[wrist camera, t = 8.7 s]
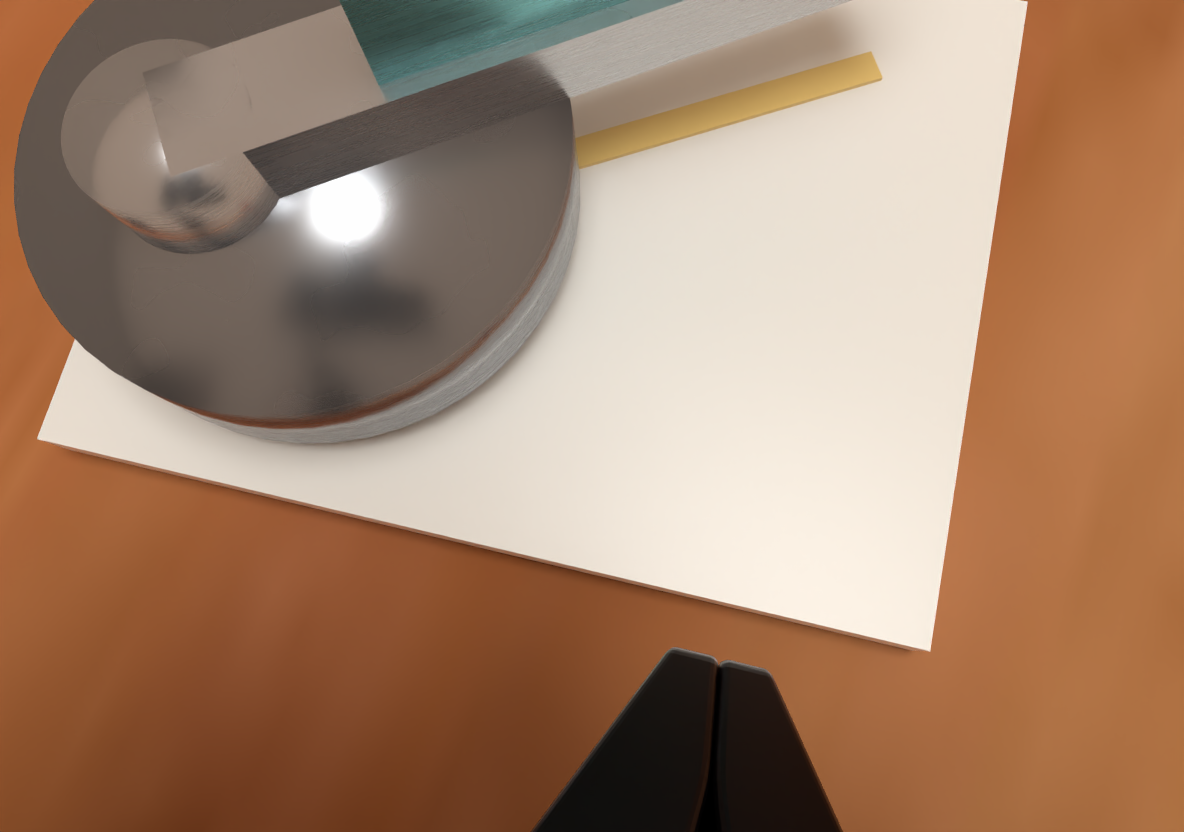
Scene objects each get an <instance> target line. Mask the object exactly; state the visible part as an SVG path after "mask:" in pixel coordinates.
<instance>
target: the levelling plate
mask: <svg viewBox="0 0 1184 832" xmlns="http://www.w3.org/2000/svg"><path fill="white" fill-rule="evenodd" d="M1026 9H1027V1H1021V0H852V1H849V2H846V3H843V4H840V5H837V6H834V7H831V8H829V9H826V10H823V11H820V12H817V13H814V14H811V15H808V16H805V17H803V18H800V19H797V20H794V21H791V22H788V23H785V24H782V25H779V26H777V27H774V28H771V29H768V30H765V31H762V32H759V33H756V34H753V35H751V36H748V37H745V38H742V39H739V40H736V41H733V42H730V43H727V44H724V45H722V46H719V47H716V48H713V49H710V50H707V51H704V52H701V53H698V54H696V55H693V56H690V57H687V58H684V59H681V60H678V61H675V62H672V63H670V64H667V65H664V66H661V67H658V68H655V69H652V70H649V71H646V72H644V73H641V74H638V75H635V76H632V77H629V78H626V79H623V80H620V81H618V82H615V83H612V84H609V85H606V86H603V87H600V88H597V89H594V90H591V91H589V92H586V93H583V94H580V95H577V96H574V97H571V98H570V102H571V108H572V115H573V123H574V131H575V139H576V147H577V155H578V164H579V172H580V212H579V220H578V228H577V235H576V239H575V243H574V247H573V250H572V254H571V258H570V261H569V265H568V268H567V270H566V272H565V275H564V277H563V280H562V282H561V284H560V287H559V289H558V291H557V294H556V296H555V298H554V299H553V301H552V303H551V304H550V306H549V308H548V309H547V311H546V313H545V315H544V316H543V318H542V320H541V321H540V323H539V325H538V326H537V327H536V328H535V330H534V331H533V332H532V334H531V335H530V336H529V337H528V339H527V340H526V341H525V342H524V344H523V345H522V346H521V348H520V349H519V350H518V351H517V352H516V353H515V354H514V355H513V356H512V357H511V358H510V359H509V360H508V361H507V362H506V363H505V364H504V365H503V366H502V367H501V368H500V369H499V370H498V371H497V372H496V373H495V374H494V375H493V376H491V377H490V378H489V379H488V380H486V381H485V382H484V383H482V384H481V385H480V386H478V387H477V388H476V389H474V390H473V391H472V392H471V393H469V394H468V395H467V396H465V397H463V398H462V399H460V400H458V401H457V402H455V403H453V404H451V405H450V406H448V407H446V408H445V409H443V410H441V411H440V412H438V413H436V414H434V415H432V416H429V417H427V418H425V419H422V420H420V421H418V422H415V423H413V424H411V425H408V426H406V427H404V428H400V429H397V430H393V431H390V432H386V433H383V434H379V435H376V436H372V437H368V438H362V439H356V440H349V441H343V442H336V443H304V444H300V443H291V442H281V441H272V440H265V439H261V438H257V437H253V436H249V435H244V434H240V433H236V432H233V431H231V430H228V429H226V428H223V427H221V426H218V425H216V424H213V423H211V422H208V421H205V420H203V419H201V418H199V417H197V416H195V415H193V414H192V413H190V412H188V411H186V410H184V409H182V408H180V407H178V406H176V405H174V404H172V403H170V402H168V401H166V400H164V399H162V398H160V397H158V396H156V395H154V394H152V393H150V392H148V391H146V390H144V389H143V388H141V387H139V386H137V385H136V384H134V383H132V382H130V381H129V380H127V379H125V378H123V377H122V376H120V375H118V374H116V373H115V372H113V371H112V370H110V369H109V368H108V367H106V366H105V365H104V364H103V363H101V362H100V361H99V360H98V359H96V358H95V357H94V356H93V355H91V354H90V353H89V352H88V351H86V350H85V349H84V348H83V347H82V346H81V345H80V344H79V343H78V341H77V340H76V339H75V341H74V343H73V346H72V349H71V351H70V354H69V357H68V359H67V362H66V364H65V367H64V370H63V372H62V375H61V378H60V380H59V383H58V385H57V388H56V391H55V393H54V396H53V398H52V401H51V404H50V406H49V409H48V412H47V414H46V417H45V419H44V422H43V425H42V427H41V430H40V433H39V435H38V438H37V439H39V440H42V441H45V442H48V443H51V444H54V445H56V446H59V447H62V448H65V449H68V450H72V451H76V452H80V453H84V454H89V455H93V456H97V457H101V458H105V459H110V460H114V461H118V462H122V463H126V464H131V465H135V466H139V467H143V468H147V469H152V470H156V471H160V472H164V473H168V474H173V475H177V476H181V477H185V478H189V479H194V480H198V481H202V482H206V483H210V484H215V485H219V486H223V487H227V488H231V489H236V490H240V491H244V492H248V493H252V494H257V495H261V496H265V497H269V498H273V499H278V500H282V501H286V502H290V503H294V504H299V505H303V506H307V507H311V508H315V509H320V510H324V511H328V512H332V513H336V514H341V515H345V516H349V517H353V518H357V519H362V520H366V521H370V522H374V523H378V524H383V525H387V526H391V527H395V528H399V529H404V530H408V531H412V532H416V533H420V534H425V535H429V536H433V537H437V538H441V539H446V540H450V541H454V542H458V543H462V544H467V545H471V546H475V547H479V548H483V549H488V550H492V551H496V552H500V553H504V554H509V555H513V556H517V557H521V558H525V559H530V560H534V561H538V562H542V563H546V564H551V565H555V566H559V567H563V568H567V569H572V570H576V571H580V572H584V573H588V574H593V575H597V576H601V577H605V578H609V579H614V580H618V581H622V582H626V583H630V584H635V585H639V586H643V587H647V588H651V589H656V590H660V591H664V592H668V593H672V594H677V595H681V596H685V597H689V598H693V599H698V600H702V601H706V602H710V603H714V604H719V605H723V606H727V607H731V608H735V609H740V610H744V611H748V612H752V613H756V614H761V615H765V616H769V617H773V618H777V619H782V620H786V621H790V622H794V623H798V624H803V625H807V626H811V627H815V628H819V629H824V630H828V631H832V632H836V633H840V634H845V635H849V636H853V637H857V638H861V639H866V640H870V641H874V642H878V643H882V644H887V645H891V646H895V647H899V648H903V649H908V650H912V651H930V649H931V642H932V635H933V629H934V622H935V615H936V609H937V602H938V595H939V589H940V582H941V575H942V569H943V562H944V555H945V549H946V542H947V535H948V529H949V522H950V515H951V509H952V502H953V495H954V489H955V482H956V475H957V469H958V462H959V455H960V449H961V442H962V435H963V429H964V422H965V415H966V409H967V402H968V395H969V389H970V382H971V375H972V369H973V362H974V355H975V349H976V342H977V336H978V329H979V322H980V316H981V309H982V302H983V296H984V289H985V282H986V276H987V269H988V262H989V256H990V249H991V242H992V236H993V229H994V222H995V216H996V209H997V202H998V196H999V189H1000V182H1001V176H1002V169H1003V162H1004V156H1005V149H1006V142H1007V136H1008V129H1009V122H1010V116H1011V109H1012V102H1013V96H1014V89H1015V82H1016V76H1017V69H1018V62H1019V56H1020V49H1021V42H1022V36H1023V29H1024V22H1025V16H1026Z"/></svg>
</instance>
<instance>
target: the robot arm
mask: <svg viewBox="0 0 1184 832" xmlns="http://www.w3.org/2000/svg"><path fill="white" fill-rule="evenodd" d="M531 832H843V831H842V829H841V826H840V824H839V822H838V820H837V818H836V815H835V813H834V811H833V809H832V806H831V804H830V802H829V800H828V798H827V795H826V793H825V791H824V789H823V787H822V784H821V782H820V780H819V778H818V776H817V773H816V771H815V769H814V767H813V764H812V762H811V760H810V758H809V756H808V753H807V751H806V749H805V747H804V745H803V742H802V740H801V738H800V736H799V733H798V731H797V729H796V727H795V725H794V722H793V720H792V718H791V716H790V714H789V711H788V709H787V707H786V705H785V703H784V700H783V698H782V696H781V694H780V691H779V689H778V687H777V685H776V683H775V681H774V678H773V677H772V675H771V674H770V673H769V672H768V671H767V670H766V669H763V668H760V667H755V666H751V665H747V664H743V663H739V662H735V661H731V660H725V661H722V662H721V663H720V664H719V665H718V662H717V660H716V659H715V658H714V657H713V656H711V655H707V654H702V653H698V652H694V651H690V650H686V649H682V648H677V647H674V648H671V649H669V650H668V651H667V652H666V653H665V654H664V656H663V657H662V658H661V660H660V661H659V662H658V664H657V665H656V666H655V668H654V669H653V670H652V672H651V673H650V674H649V676H648V677H647V678H646V679H645V681H644V682H643V683H642V685H641V686H640V687H639V689H638V690H637V691H636V693H635V694H634V695H633V697H632V698H631V699H630V701H629V702H628V703H627V705H626V706H625V707H624V709H623V710H622V711H621V713H620V714H619V715H618V717H617V718H616V719H615V721H614V722H613V723H612V725H611V726H610V727H609V729H608V730H607V731H606V733H605V734H604V735H603V737H602V738H601V739H600V740H599V742H598V743H597V744H596V746H595V747H594V748H593V750H592V751H591V752H590V754H589V755H588V756H587V758H586V759H585V760H584V762H583V763H582V764H581V766H580V767H579V768H578V770H577V771H576V772H575V774H574V775H573V776H572V778H571V779H570V780H569V782H568V783H567V784H566V786H565V787H564V788H563V790H562V791H561V792H560V794H559V795H558V796H557V798H556V799H555V800H554V802H553V803H552V804H551V805H550V807H549V808H548V809H547V811H546V812H545V813H544V815H543V816H542V817H541V819H540V820H539V821H538V823H537V824H536V825H535V827H534V828H533V829H532V831H531Z"/></svg>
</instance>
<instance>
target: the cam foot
mask: <svg viewBox="0 0 1184 832" xmlns="http://www.w3.org/2000/svg"><path fill="white" fill-rule="evenodd" d="M849 1H852V0H94V1H93V3H92V4H91V5H90V6H89V7H88V8H87V9H86V10H85V11H84V12H83V13H82V14H81V15H80V16H79V18H78V19H77V20H76V22H75V23H74V24H73V25H72V27H71V28H70V29H69V31H68V32H67V33H66V35H65V36H64V37H63V39H62V40H61V41H60V43H59V44H58V46H57V48H56V49H55V51H54V53H53V54H52V56H51V58H50V60H49V61H48V63H47V65H46V66H45V68H44V70H43V71H42V73H41V76H40V78H39V80H38V83H37V85H36V87H35V90H34V92H33V94H32V97H31V99H30V101H29V103H28V107H27V110H26V114H25V117H24V121H23V124H22V128H21V131H20V135H19V141H18V148H17V154H16V161H15V168H14V204H15V211H16V218H17V225H18V232H19V237H20V240H21V244H22V247H23V250H24V254H25V257H26V260H27V264H28V267H29V269H30V271H31V273H32V275H33V277H34V279H35V282H36V284H37V286H38V288H39V290H40V292H41V294H42V296H43V298H44V299H45V301H46V302H47V304H48V305H49V307H50V308H51V310H52V311H53V313H54V314H55V315H56V317H57V318H58V320H59V321H60V323H61V324H62V325H63V326H64V328H65V329H66V330H67V331H68V332H69V333H70V334H71V335H72V336H73V337H74V338H75V339H76V340H77V341H78V343H79V344H80V345H81V346H82V347H83V348H84V349H85V350H86V351H88V352H89V353H90V354H91V355H93V356H94V357H95V358H96V359H98V360H99V361H100V362H101V363H103V364H104V365H105V366H106V367H108V368H109V369H110V370H112V371H113V372H115V373H116V374H118V375H120V376H122V377H123V378H125V379H127V380H129V381H130V382H132V383H134V384H136V385H137V386H139V387H141V388H143V389H144V390H146V391H148V392H150V393H152V394H154V395H156V396H158V397H160V398H162V399H164V400H166V401H168V402H170V403H172V404H174V405H176V406H178V407H180V408H182V409H184V410H186V411H188V412H190V413H192V414H193V415H195V416H197V417H199V418H201V419H203V420H205V421H208V422H211V423H213V424H216V425H218V426H221V427H223V428H226V429H228V430H231V431H233V432H236V433H240V434H244V435H249V436H253V437H257V438H261V439H265V440H272V441H281V442H291V443H300V444H304V443H336V442H343V441H349V440H356V439H362V438H368V437H372V436H376V435H379V434H383V433H386V432H390V431H393V430H397V429H400V428H404V427H406V426H408V425H411V424H413V423H415V422H418V421H420V420H422V419H425V418H427V417H429V416H432V415H434V414H436V413H438V412H440V411H441V410H443V409H445V408H446V407H448V406H450V405H451V404H453V403H455V402H457V401H458V400H460V399H462V398H463V397H465V396H467V395H468V394H469V393H471V392H472V391H473V390H474V389H476V388H477V387H478V386H480V385H481V384H482V383H484V382H485V381H486V380H488V379H489V378H490V377H491V376H493V375H494V374H495V373H496V372H497V371H498V370H499V369H500V368H501V367H502V366H503V365H504V364H505V363H506V362H507V361H508V360H509V359H510V358H511V357H512V356H513V355H514V354H515V353H516V352H517V351H518V350H519V349H520V348H521V346H522V345H523V344H524V342H525V341H526V340H527V339H528V337H529V336H530V335H531V334H532V332H533V331H534V330H535V328H536V327H537V326H538V325H539V323H540V321H541V320H542V318H543V316H544V315H545V313H546V311H547V309H548V308H549V306H550V304H551V303H552V301H553V299H554V298H555V296H556V294H557V291H558V289H559V287H560V284H561V282H562V280H563V277H564V275H565V272H566V270H567V268H568V265H569V261H570V258H571V254H572V250H573V247H574V243H575V239H576V235H577V228H578V220H579V212H580V172H579V164H578V155H577V147H576V139H575V131H574V123H573V115H572V108H571V102H570V98H571V97H574V96H577V95H580V94H583V93H586V92H589V91H591V90H594V89H597V88H600V87H603V86H606V85H609V84H612V83H615V82H618V81H620V80H623V79H626V78H629V77H632V76H635V75H638V74H641V73H644V72H646V71H649V70H652V69H655V68H658V67H661V66H664V65H667V64H670V63H672V62H675V61H678V60H681V59H684V58H687V57H690V56H693V55H696V54H698V53H701V52H704V51H707V50H710V49H713V48H716V47H719V46H722V45H724V44H727V43H730V42H733V41H736V40H739V39H742V38H745V37H748V36H751V35H753V34H756V33H759V32H762V31H765V30H768V29H771V28H774V27H777V26H779V25H782V24H785V23H788V22H791V21H794V20H797V19H800V18H803V17H805V16H808V15H811V14H814V13H817V12H820V11H823V10H826V9H829V8H831V7H834V6H837V5H840V4H843V3H846V2H849Z"/></svg>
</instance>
